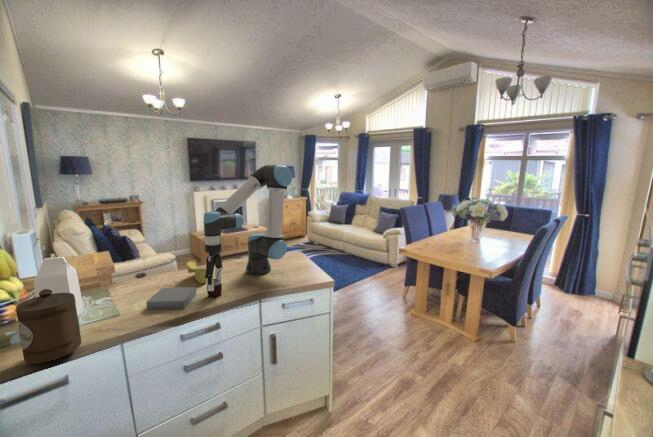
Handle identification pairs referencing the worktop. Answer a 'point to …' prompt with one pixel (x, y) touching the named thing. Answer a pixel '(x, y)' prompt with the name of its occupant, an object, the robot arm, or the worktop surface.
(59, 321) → the wooden container
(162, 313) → the worktop surface
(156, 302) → the stand
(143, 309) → the worktop surface
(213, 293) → the mate gourd
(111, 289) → the worktop surface
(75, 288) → the milk
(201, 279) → the plastic component
